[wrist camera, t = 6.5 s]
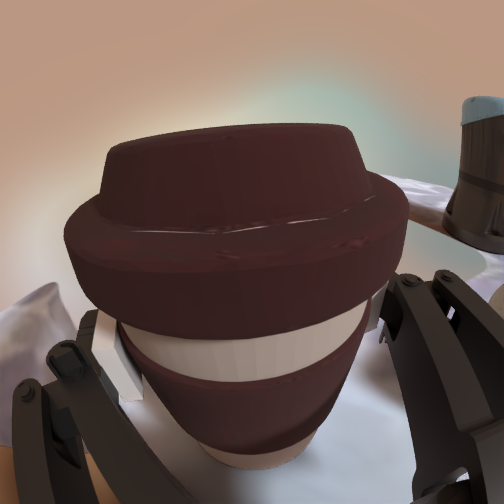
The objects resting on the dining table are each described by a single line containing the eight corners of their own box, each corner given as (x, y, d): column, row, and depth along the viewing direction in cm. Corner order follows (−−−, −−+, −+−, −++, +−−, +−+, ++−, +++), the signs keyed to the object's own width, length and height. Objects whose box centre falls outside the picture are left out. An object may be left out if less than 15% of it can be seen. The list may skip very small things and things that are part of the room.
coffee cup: (194, 355, 19) (149, 135, 12) (332, 358, 18) (355, 124, 11) (155, 476, 10) (-26, 195, 3) (343, 491, 9) (516, 159, 2)
